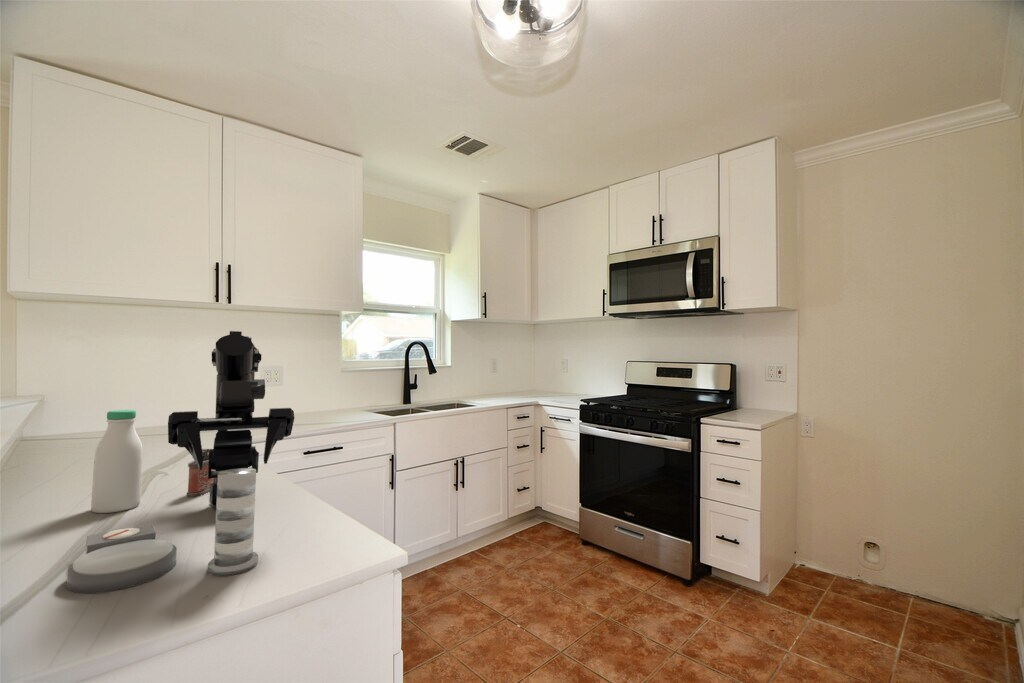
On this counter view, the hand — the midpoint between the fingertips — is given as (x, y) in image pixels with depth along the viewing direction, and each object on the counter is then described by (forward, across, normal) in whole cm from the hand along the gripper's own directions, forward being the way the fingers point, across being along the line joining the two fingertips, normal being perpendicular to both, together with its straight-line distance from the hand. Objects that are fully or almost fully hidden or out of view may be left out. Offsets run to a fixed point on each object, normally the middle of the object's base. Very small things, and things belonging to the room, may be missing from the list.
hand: (234, 465), depth 76 cm
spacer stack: (+15, 0, +4) cm, 16 cm away
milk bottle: (-15, -19, +35) cm, 42 cm away
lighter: (-19, -4, +38) cm, 43 cm away
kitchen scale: (+9, -14, +10) cm, 19 cm away
